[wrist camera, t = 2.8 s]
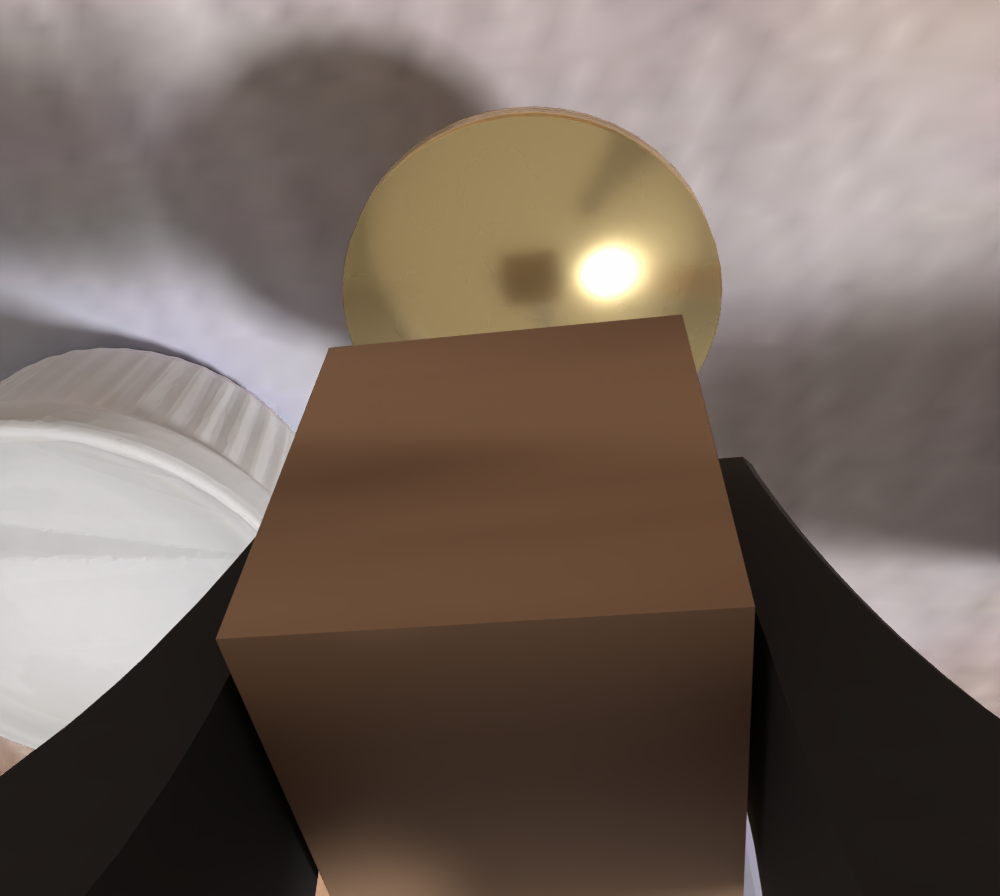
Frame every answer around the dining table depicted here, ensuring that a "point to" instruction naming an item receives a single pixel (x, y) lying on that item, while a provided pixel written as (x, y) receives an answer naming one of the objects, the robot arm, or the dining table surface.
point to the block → (505, 620)
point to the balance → (529, 234)
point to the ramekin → (116, 517)
